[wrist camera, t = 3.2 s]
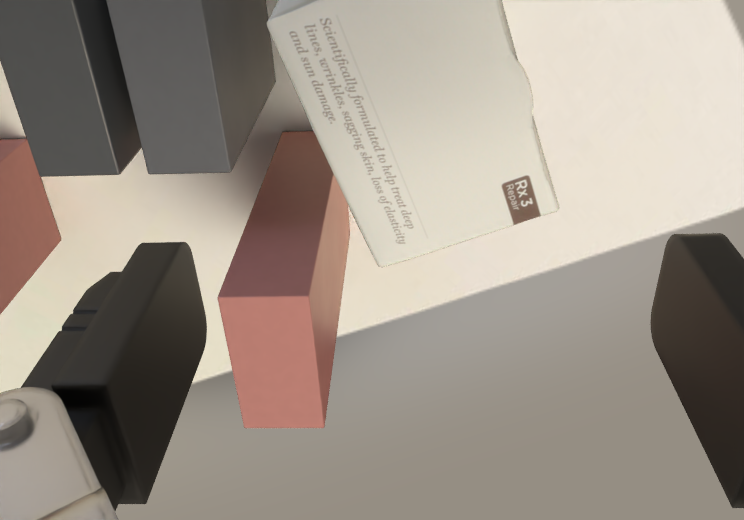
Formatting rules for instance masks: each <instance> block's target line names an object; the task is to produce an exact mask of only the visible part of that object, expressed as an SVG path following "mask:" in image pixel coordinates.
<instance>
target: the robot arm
mask: <svg viewBox="0 0 744 520" xmlns="http://www.w3.org/2000/svg"><path fill="white" fill-rule="evenodd" d="M206 333H207V325H206V315H205V310H204V306H203V301H202V297H201V292H200V287H199V283H198V278H197V274H196V269H195V265H194V260H193V256H192V252H191V249H190V247H189V245H188V244H187V243H185V242H166V243H141V244H140V245H139V246H138V247H137V249H136V250H135V252H134V253H133V255H132V257H131V258H130V260H129V261H128V263H127V265H126V266H125V268H124V269H123V271H122V272H110V273H109V274H108V275H106V276H105V277H104V278H102V279H101V280H100V281H98V282H97V283H95V284H94V285H93V286H91V287H90V288H89V289H87V290H86V292H85V293H84V295H83V296H82V298H81V299H80V301H79V302H78V304H77V305H76V307H75V308H74V310H73V314H70V316H69V317H68V318H67V320H66V321H65V323H64V324H63V326H62V331H59V332H58V333H57V335H56V336H55V338H54V339H53V341H52V342H51V344H50V345H49V347H48V348H47V349H46V351H45V352H44V354H43V355H42V357H41V358H40V360H39V361H38V363H37V364H36V366H35V367H34V369H33V370H32V372H31V373H30V375H29V376H28V378H27V379H26V380H25V382H24V383H23V385H22V386H21V388H17V389H13V390H9V391H5V392H2V393H0V520H118V518H117V515H116V513H115V511H116V508H117V506H118V504H146V503H147V500H148V497H149V495H150V492H151V490H152V487H153V484H154V482H155V479H156V476H157V474H158V471H159V468H160V466H161V463H162V460H163V458H164V455H165V452H166V450H167V447H168V444H169V442H170V439H171V437H172V434H173V431H174V429H175V425H176V423H177V420H178V418H179V415H180V413H181V410H182V407H183V405H184V402H185V399H186V397H187V394H188V391H189V388H190V386H191V383H192V381H193V378H194V375H195V373H196V370H197V368H198V365H199V362H200V360H201V357H202V354H203V351H204V348H205V343H206ZM651 333H652V339H653V343H654V346H655V348H656V351H657V353H658V355H659V357H660V359H661V361H662V363H663V365H664V367H665V369H666V371H667V374H668V376H669V378H670V379H671V381H672V384H673V386H674V388H675V390H676V392H677V394H678V396H679V398H680V400H681V402H682V405H683V406H684V409H685V411H686V413H687V415H688V417H689V419H690V421H691V423H692V425H693V427H694V429H695V431H696V433H697V436H698V438H699V440H700V442H701V444H702V446H703V448H704V450H705V452H706V454H707V456H708V458H709V460H710V462H711V465H712V466H713V468H714V471H715V473H716V475H717V477H718V479H719V481H720V483H721V485H722V487H723V489H724V491H725V494H726V496H727V498H728V500H729V502H730V504H731V506H732V507H733V508H744V259H743V257H742V256H741V255H740V253H739V252H738V251H737V250H736V248H735V247H734V246H733V245H732V243H731V242H730V241H729V239H728V238H727V237H726V236H725V235H723V234H721V233H717V234H716V233H713V234H674V235H672V236H671V237H670V238H669V240H668V241H667V244H666V248H665V252H664V256H663V261H662V265H661V270H660V274H659V279H658V284H657V288H656V293H655V297H654V302H653V306H652V312H651Z"/></svg>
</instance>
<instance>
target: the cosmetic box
mask: <svg viewBox="0 0 744 520" xmlns="http://www.w3.org/2000/svg"><path fill="white" fill-rule="evenodd" d="M267 27H268V30H269V32H270V34H271V37H272V39H273V41H274V43H275V45H276V48H277V50H278V52H279V54H280V57H281V59H282V61H283V63H284V66H285V68H286V70H287V72H288V75H289V77H290V79H291V81H292V84H293V86H294V88H295V90H296V93H297V95H298V97H299V99H300V102H301V104H302V106H303V108H304V111H305V113H306V115H307V117H308V120H309V122H310V124H311V126H312V128H313V131H314V133H315V135H316V137H317V139H318V142H319V144H320V146H321V148H322V150H323V152H324V154H325V157H326V159H327V161H328V163H329V165H330V167H331V169H332V172H333V174H334V176H335V178H336V180H337V182H338V184H339V186H340V188H341V190H342V192H343V195H344V197H345V199H346V201H347V203H348V205H349V207H350V210H351V212H352V214H353V216H354V218H355V220H356V222H357V225H358V227H359V229H360V231H361V233H362V235H363V237H364V239H365V241H366V243H367V245H368V247H369V249H370V251H371V253H372V255H373V257H374V259H375V261H376V263H377V265H378V266H379V267H385V266H389V265H392V264H396V263H399V262H403V261H406V260H409V259H412V258H415V257H418V256H421V255H425V254H428V253H431V252H434V251H437V250H440V249H443V248H445V247H449V246H452V245H455V244H458V243H461V242H464V241H467V240H470V239H473V238H476V237H479V236H482V235H485V234H489V233H492V232H495V231H498V230H501V229H504V228H507V227H510V226H513V225H515V224H518V223H521V222H524V221H527V220H530V219H533V218H536V217H539V216H543V215H547V214H550V213H554V212H557V211H558V210H559V204H558V201H557V198H556V195H555V191H554V188H553V184H552V181H551V178H550V174H549V171H548V167H547V164H546V160H545V157H544V154H543V150H542V147H541V143H540V139H539V136H538V132H537V128H536V125H535V121H534V118H533V97H532V91H531V87H530V83H529V80H528V77H527V75H526V72H525V70H524V68H523V67H522V66H521V64H520V63H519V62H518V59H517V56H516V52H515V48H514V45H513V41H512V37H511V34H510V30H509V26H508V22H507V19H506V15H505V11H504V7H503V3H502V0H278V2H277V4H276V6H275V8H274V10H273V13H272V15H271V17H270V18H269V20H268V21H267Z"/></svg>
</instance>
